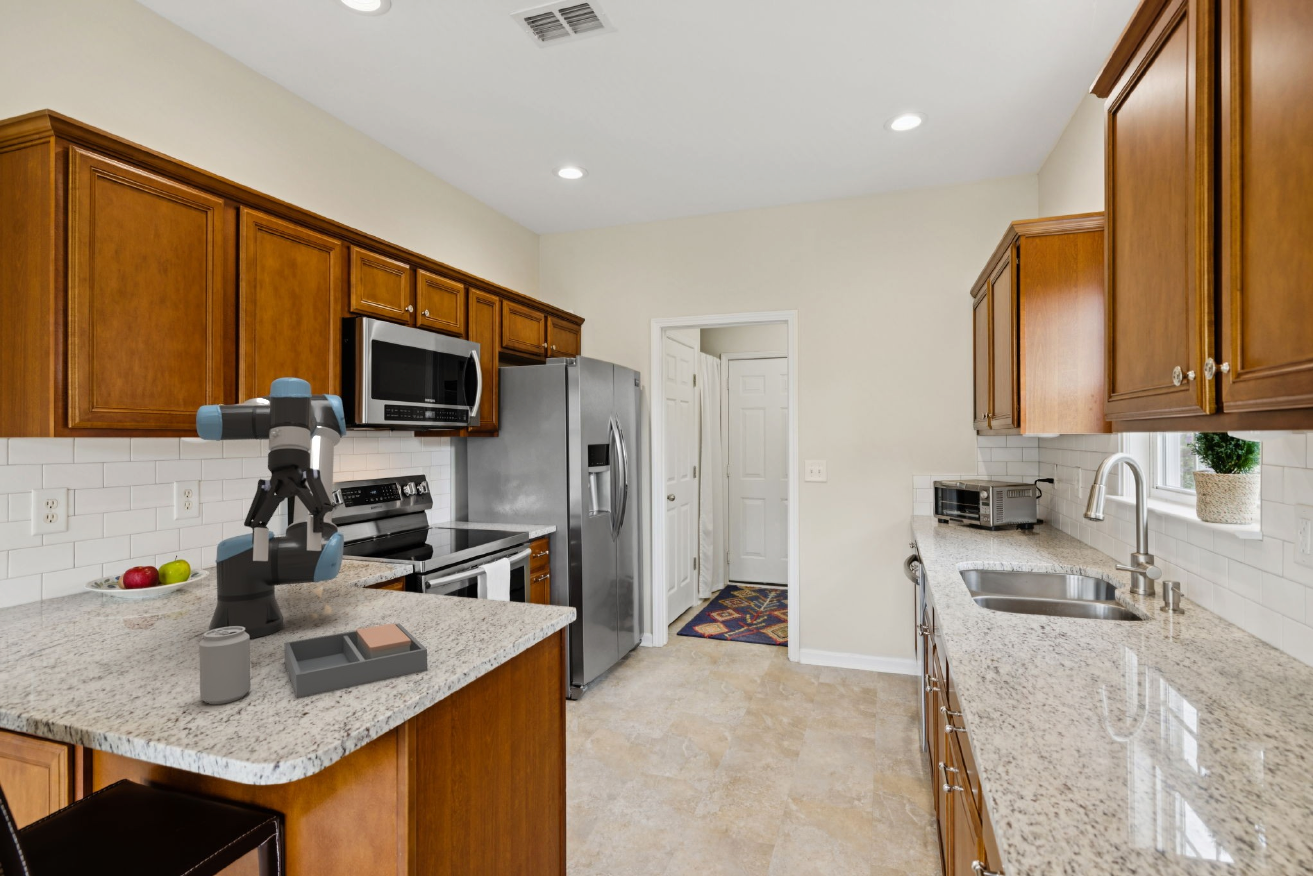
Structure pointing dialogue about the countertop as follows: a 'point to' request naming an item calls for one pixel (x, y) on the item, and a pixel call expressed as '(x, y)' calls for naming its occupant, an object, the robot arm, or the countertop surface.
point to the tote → (345, 663)
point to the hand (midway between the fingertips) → (286, 555)
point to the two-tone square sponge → (382, 641)
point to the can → (224, 665)
